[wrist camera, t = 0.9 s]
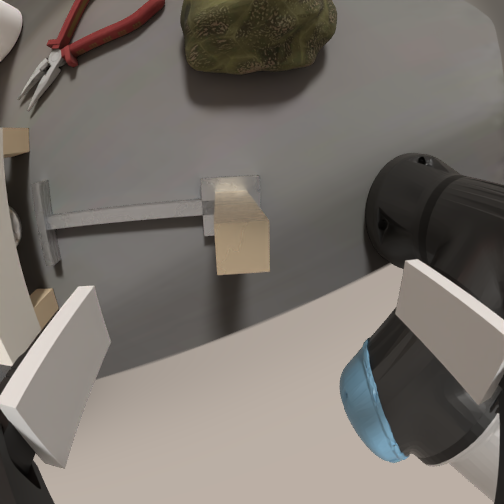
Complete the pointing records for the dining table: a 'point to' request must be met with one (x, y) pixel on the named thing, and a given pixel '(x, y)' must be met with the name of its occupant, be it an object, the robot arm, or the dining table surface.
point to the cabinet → (17, 271)
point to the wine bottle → (9, 28)
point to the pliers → (82, 43)
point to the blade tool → (210, 206)
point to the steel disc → (15, 225)
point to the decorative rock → (255, 34)
